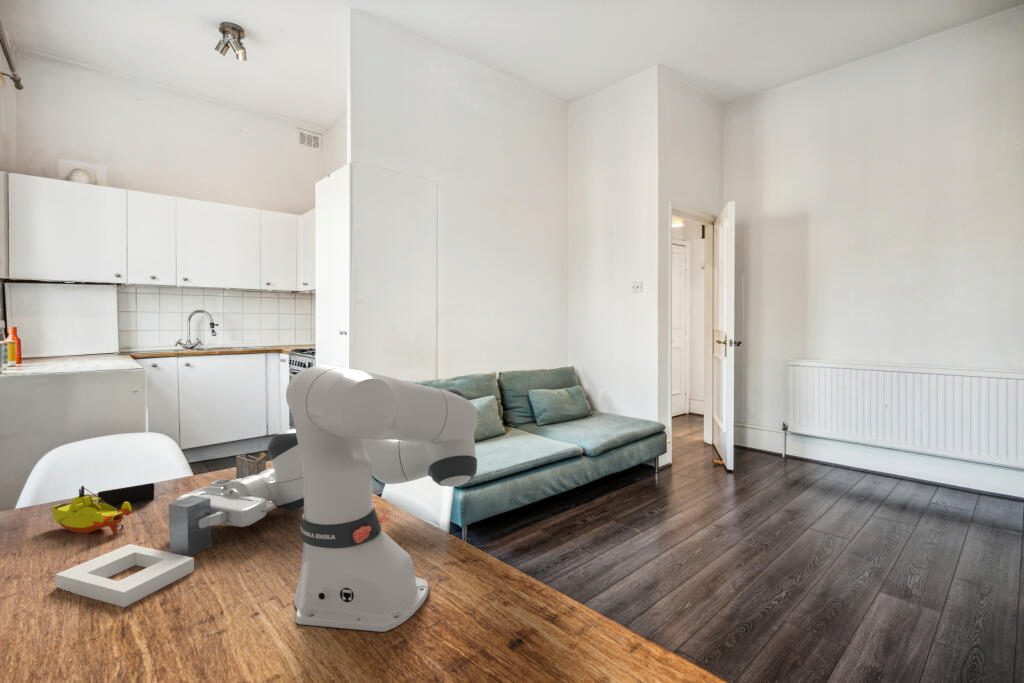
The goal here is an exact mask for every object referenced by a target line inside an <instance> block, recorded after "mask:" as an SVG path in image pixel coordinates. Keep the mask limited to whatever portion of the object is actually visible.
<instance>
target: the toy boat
mask: <svg viewBox="0 0 1024 683" xmlns="http://www.w3.org/2000/svg"><path fill="white" fill-rule="evenodd" d="M85 490H86V491H88V492H89V493H90V494H92V495H93V496H94V497H92V496H91V495H90V494H89V493H86V494H85ZM98 500H101V499H100V498H98V495H96V494H95V493H93V492H91V491H90V490H88V489H87V488H86V487H85V486H84V485H82V486H81V487H80V488H79V489H78V496H76V497H74V498H73V499H72V502H68V503H66V502H65V503H60V504H57V505H53V506H52V507H51V512H52V517H53V519H54V520H55V522H56V523H57V524H59V525H60V526H61V527H62V528H64V529H67V530H68V531H70V532H73V533H77V534H79V533H81V534H86V533H87V534H88V533H92V532H95V531H98V530H99V529H102V528H107V527H109V528H110V529H111V531H112V532H111V533H112V534H113V535H118V532H121V531H122V530H123V529H124V524H121V522H122V520H124V516H129V515H131V514H133V510H132V508H133V507H132V504H130V503H129V502H124V503H123V505H122V506H121V509H119V510H118V508H116V507H113V506H111V505H109V504H107V503H106V502H104V501H103V500H101V501H103V502H104V503H102V502H98ZM94 502H97V503H94ZM105 503H106V504H105ZM120 526H121V527H120ZM119 527H120V528H119ZM118 528H119V529H118Z"/></svg>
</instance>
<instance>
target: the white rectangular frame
mask: <svg viewBox="0 0 1024 683" xmlns="http://www.w3.org/2000/svg"><path fill="white" fill-rule="evenodd" d="M134 566H138V567H142V568H144V569H141V570H139V571H137V572H134V573H133V574H130V575H128V576H126V577H125V578H122V579H120V580H116V579H112V578H110V577H112V576H114V575H117V574H119V573H121V572H123V571H125V570H127V569H130V568H132V567H134ZM194 572H195V558H194V557H192V556H190V557H187V556H183V555H178V554H173V553H170V551H169V552H168V551H164V550H158V549H156V548H154V549H153V548H150V547H145V546H141V545H136V544H132V543H128V544H126V545H124V546H122V547H119V548H116V549H114V550H112V551H109V552H106V553H104V554H102V555H99V556H97V557H94V558H92V559H90V560H88V561H85V562H82V563H80V564H76V565H75V566H72V567H70V568H68V569H65V570H63V571H59V572H57V573H55V588H56V587H58V588H61V589H64V590H66V591H65V592H67V591H70V592H69V593H71V592H72V594H75V595H79V596H82V597H86V598H89V599H93V600H96V601H100V602H103V603H108V604H111V605H114V606H118V607H121V608H126V607H128V606H130V605H132V604H134V603H135V602H138V601H140V600H142V599H144V598H145V597H147V596H149V595H151V594H153V593H155V592H157V591H159V590H160V589H162V588H164V587H167V586H168V585H170V584H172V583H174V582H176V581H178V580H179V579H182V578H183V577H186V576H187V575H189V574H191V573H194ZM64 590H63V591H64Z"/></svg>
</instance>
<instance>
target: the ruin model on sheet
mask: <svg viewBox="0 0 1024 683" xmlns="http://www.w3.org/2000/svg"><path fill="white" fill-rule="evenodd" d="M246 456H247V457H246ZM266 456H267V453H264V451H262V452H260V453H259V457H255V456H251V455H247V454H246V453H244V454H240V455H236V456H235V460H236V461H235V462H236V463H235V464H236V465H235V467H236V468H235V470H236V471H235V473H236V475H235V476H236V479H239V478H245V477H248V476H251V475H258V474H259V473H261V472H262V471H264V470H267V461H266V460H263V459H264V458H265V457H266Z"/></svg>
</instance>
